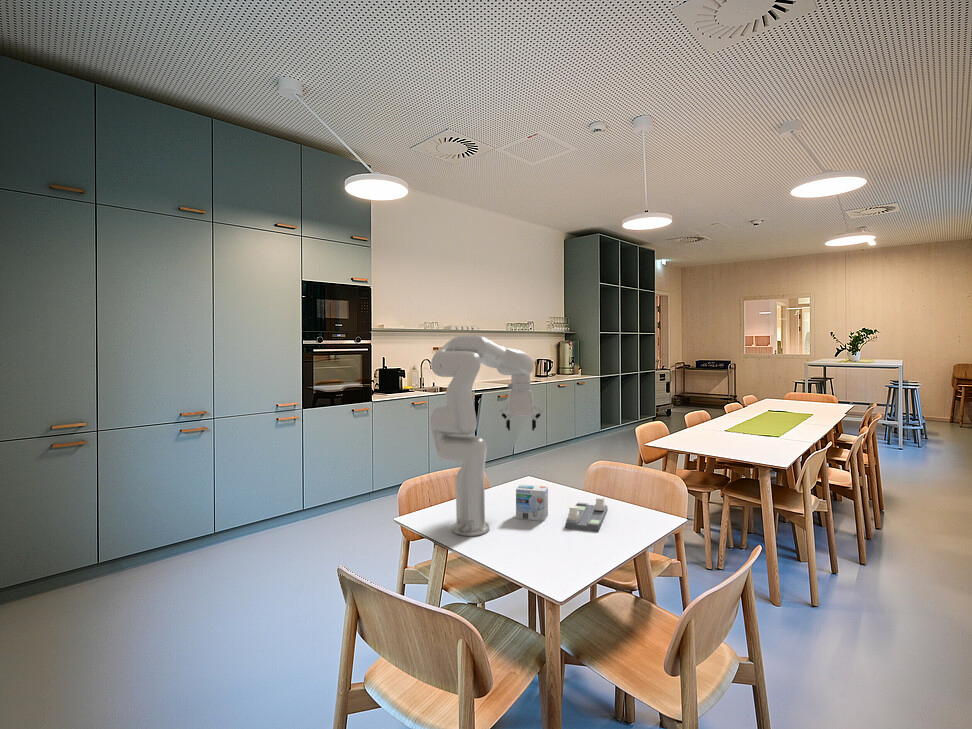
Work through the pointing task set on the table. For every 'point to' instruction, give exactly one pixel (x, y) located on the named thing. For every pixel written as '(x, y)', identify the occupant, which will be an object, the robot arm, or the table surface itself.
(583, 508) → the switch board
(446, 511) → the table surface
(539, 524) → the table surface
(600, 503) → the tab
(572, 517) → the tab
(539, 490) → the light bulb box
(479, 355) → the robot arm
